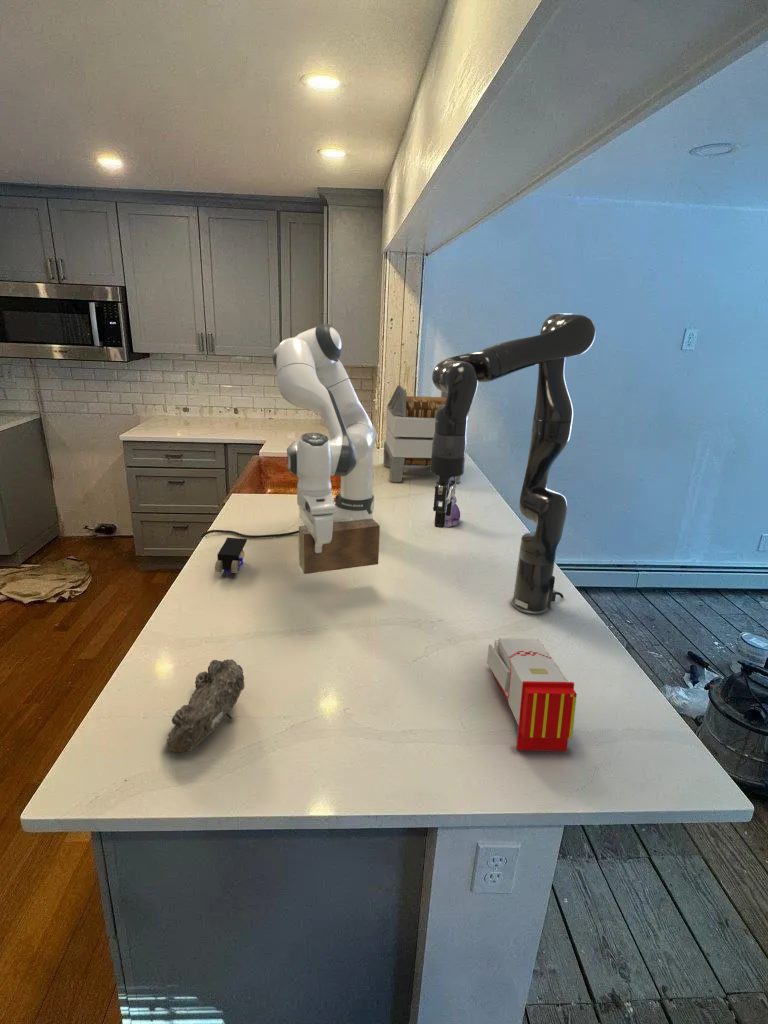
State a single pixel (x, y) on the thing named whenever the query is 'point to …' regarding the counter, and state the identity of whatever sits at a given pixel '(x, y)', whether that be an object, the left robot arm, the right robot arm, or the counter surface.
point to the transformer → (410, 431)
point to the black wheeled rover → (230, 556)
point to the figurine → (453, 515)
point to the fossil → (206, 705)
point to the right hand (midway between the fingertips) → (442, 520)
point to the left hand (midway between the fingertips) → (314, 546)
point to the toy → (534, 693)
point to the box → (341, 547)
